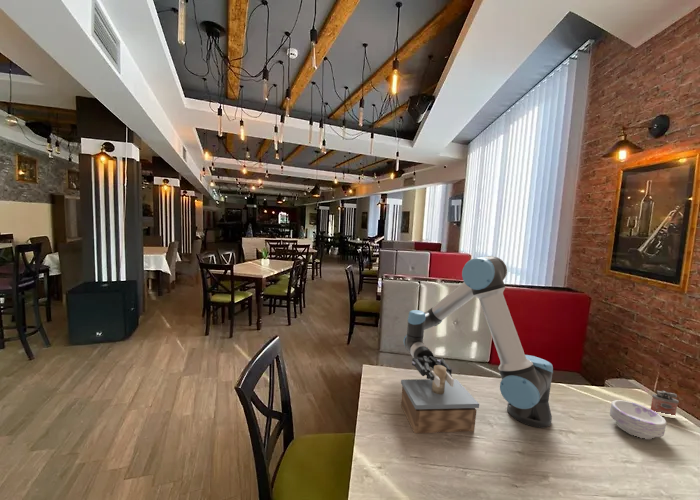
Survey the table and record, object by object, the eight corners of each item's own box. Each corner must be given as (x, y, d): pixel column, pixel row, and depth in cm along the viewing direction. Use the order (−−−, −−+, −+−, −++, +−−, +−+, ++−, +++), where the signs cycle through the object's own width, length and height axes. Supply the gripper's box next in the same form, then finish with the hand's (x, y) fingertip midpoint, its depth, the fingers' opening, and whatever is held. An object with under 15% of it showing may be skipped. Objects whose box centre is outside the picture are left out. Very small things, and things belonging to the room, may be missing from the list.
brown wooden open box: (453, 404, 127) (455, 385, 126) (474, 431, 111) (476, 410, 110) (400, 405, 123) (402, 386, 123) (414, 433, 108) (416, 411, 107)
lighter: (651, 414, 129) (655, 391, 128) (647, 409, 132) (651, 387, 131) (677, 420, 126) (681, 396, 125) (672, 415, 129) (676, 392, 128)
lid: (456, 382, 126) (458, 357, 125) (478, 407, 109) (481, 379, 108) (400, 383, 123) (403, 357, 122) (415, 409, 106) (418, 379, 105)
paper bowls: (660, 431, 118) (664, 411, 117) (665, 452, 107) (669, 430, 106) (608, 412, 128) (611, 394, 127) (607, 430, 116) (610, 410, 116)
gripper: (440, 362, 135) (467, 392, 112) (401, 362, 132) (421, 393, 109) (442, 346, 134) (469, 372, 111) (402, 345, 132) (422, 373, 109)
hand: (445, 383), depth 110 cm, fingers closed on lid, 4 cm apart
